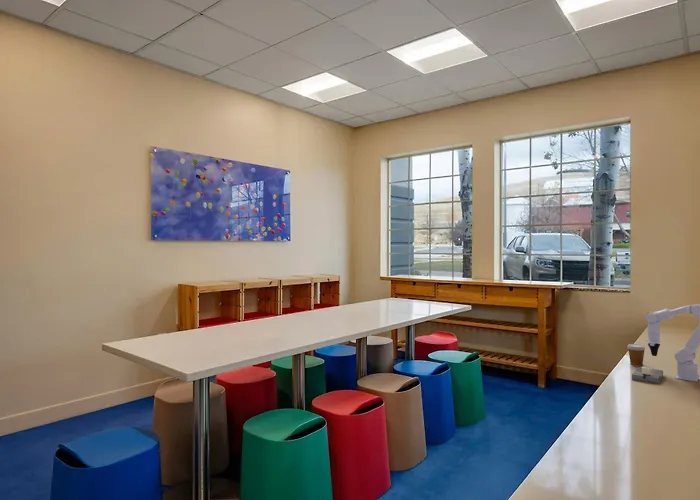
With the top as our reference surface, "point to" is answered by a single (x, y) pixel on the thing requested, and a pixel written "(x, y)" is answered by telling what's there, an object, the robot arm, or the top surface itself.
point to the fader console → (651, 378)
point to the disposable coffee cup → (636, 354)
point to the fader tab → (646, 370)
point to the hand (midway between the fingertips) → (654, 355)
